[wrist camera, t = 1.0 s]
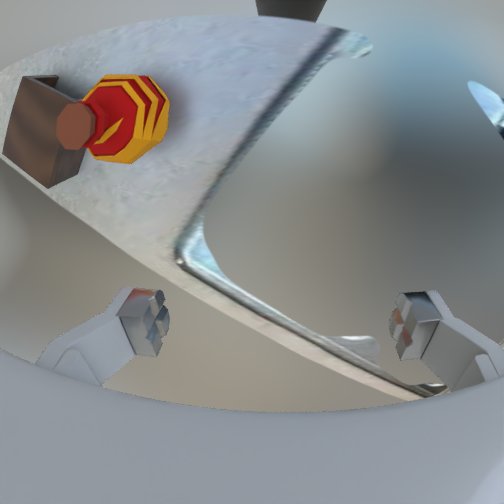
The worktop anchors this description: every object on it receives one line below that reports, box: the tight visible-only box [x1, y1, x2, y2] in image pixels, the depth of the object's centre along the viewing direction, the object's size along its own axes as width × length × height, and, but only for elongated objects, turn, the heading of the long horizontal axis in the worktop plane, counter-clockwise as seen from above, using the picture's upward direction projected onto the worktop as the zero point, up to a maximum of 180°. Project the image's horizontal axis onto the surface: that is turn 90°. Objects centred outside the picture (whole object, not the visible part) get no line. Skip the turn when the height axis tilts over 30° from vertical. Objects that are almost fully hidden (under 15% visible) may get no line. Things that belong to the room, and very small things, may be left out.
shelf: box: [2, 75, 86, 189], centre depth 27 cm, size 12×12×7 cm
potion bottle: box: [56, 75, 170, 164], centre depth 24 cm, size 10×10×15 cm
